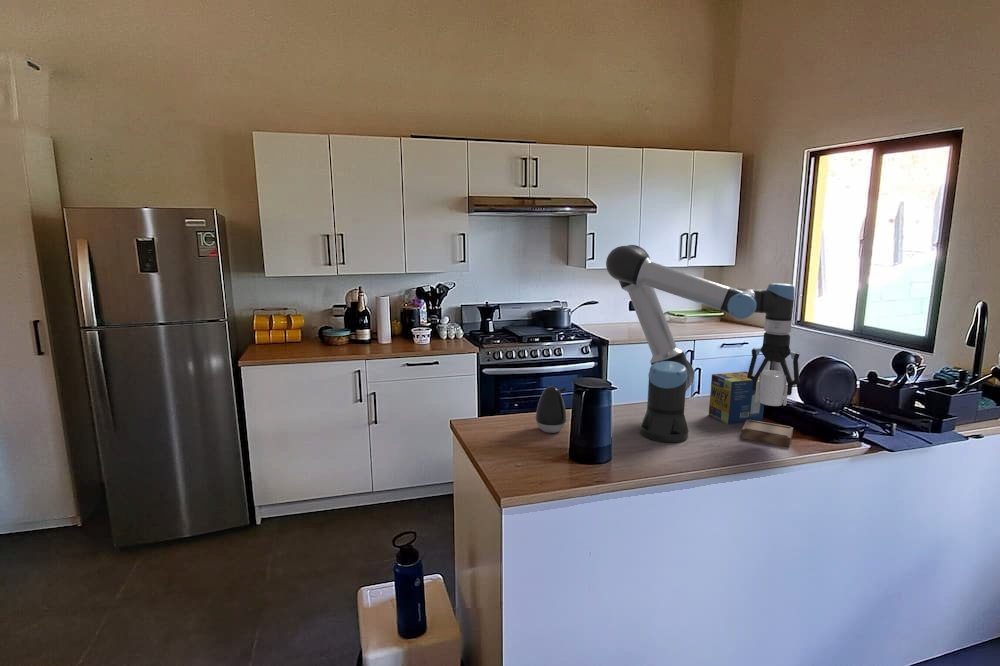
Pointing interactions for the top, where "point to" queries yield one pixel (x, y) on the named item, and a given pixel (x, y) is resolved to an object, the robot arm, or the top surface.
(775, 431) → the tan flat block
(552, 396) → the dark grey egg
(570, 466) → the top surface
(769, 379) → the white cup
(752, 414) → the protein box
